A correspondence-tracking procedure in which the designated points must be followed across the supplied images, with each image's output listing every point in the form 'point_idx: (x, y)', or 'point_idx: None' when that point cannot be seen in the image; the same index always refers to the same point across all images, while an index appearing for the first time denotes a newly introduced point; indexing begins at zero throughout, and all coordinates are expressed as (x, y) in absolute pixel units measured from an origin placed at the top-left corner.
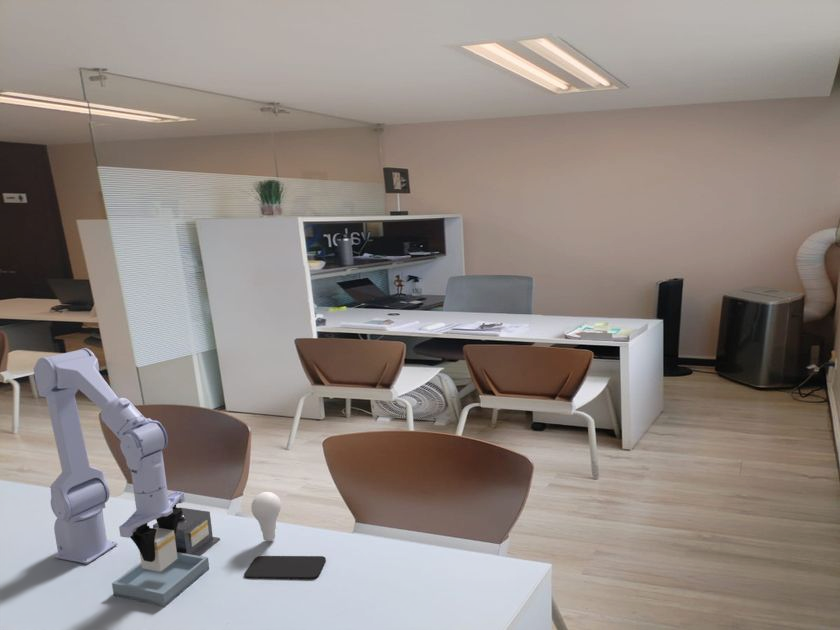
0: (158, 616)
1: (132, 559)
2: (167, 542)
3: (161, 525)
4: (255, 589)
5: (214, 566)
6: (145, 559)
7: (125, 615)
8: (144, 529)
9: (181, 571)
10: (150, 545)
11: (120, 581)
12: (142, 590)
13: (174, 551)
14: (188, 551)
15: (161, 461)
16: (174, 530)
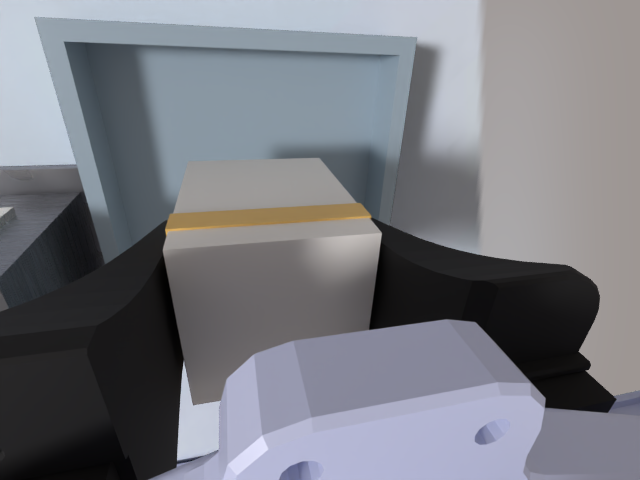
0: (447, 19)
1: (182, 380)
2: (261, 211)
3: (174, 384)
4: None
5: (27, 6)
6: None
7: (447, 158)
8: (525, 370)
9: (174, 144)
10: (427, 242)
11: None
12: (396, 166)
13: (202, 178)
14: (51, 206)
15: None
16: (138, 260)
